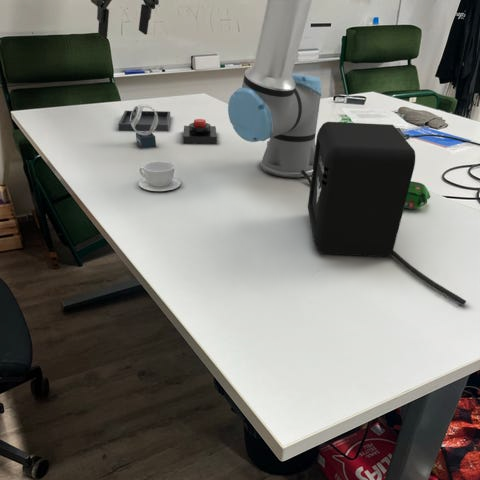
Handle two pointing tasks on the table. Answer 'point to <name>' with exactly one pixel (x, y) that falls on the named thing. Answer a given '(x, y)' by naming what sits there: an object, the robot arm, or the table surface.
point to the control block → (199, 134)
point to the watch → (144, 137)
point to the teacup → (158, 176)
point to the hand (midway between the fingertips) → (123, 33)
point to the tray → (145, 121)
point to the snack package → (416, 195)
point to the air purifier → (359, 188)
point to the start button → (199, 122)
